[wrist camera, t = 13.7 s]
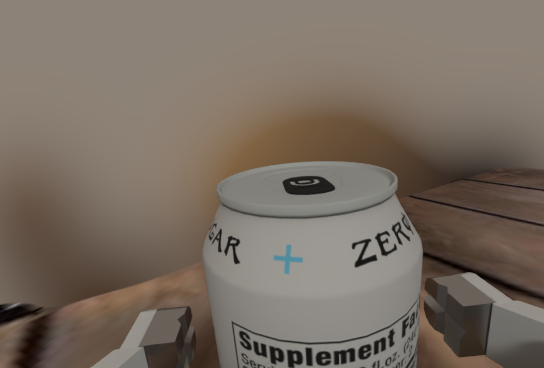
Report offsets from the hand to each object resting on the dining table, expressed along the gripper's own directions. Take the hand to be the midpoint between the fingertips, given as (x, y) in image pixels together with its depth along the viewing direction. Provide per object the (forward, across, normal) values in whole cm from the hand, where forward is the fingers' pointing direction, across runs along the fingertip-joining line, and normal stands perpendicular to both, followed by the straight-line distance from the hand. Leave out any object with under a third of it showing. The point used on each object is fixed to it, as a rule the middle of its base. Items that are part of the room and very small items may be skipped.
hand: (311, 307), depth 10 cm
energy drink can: (-1, 0, +10) cm, 11 cm away
